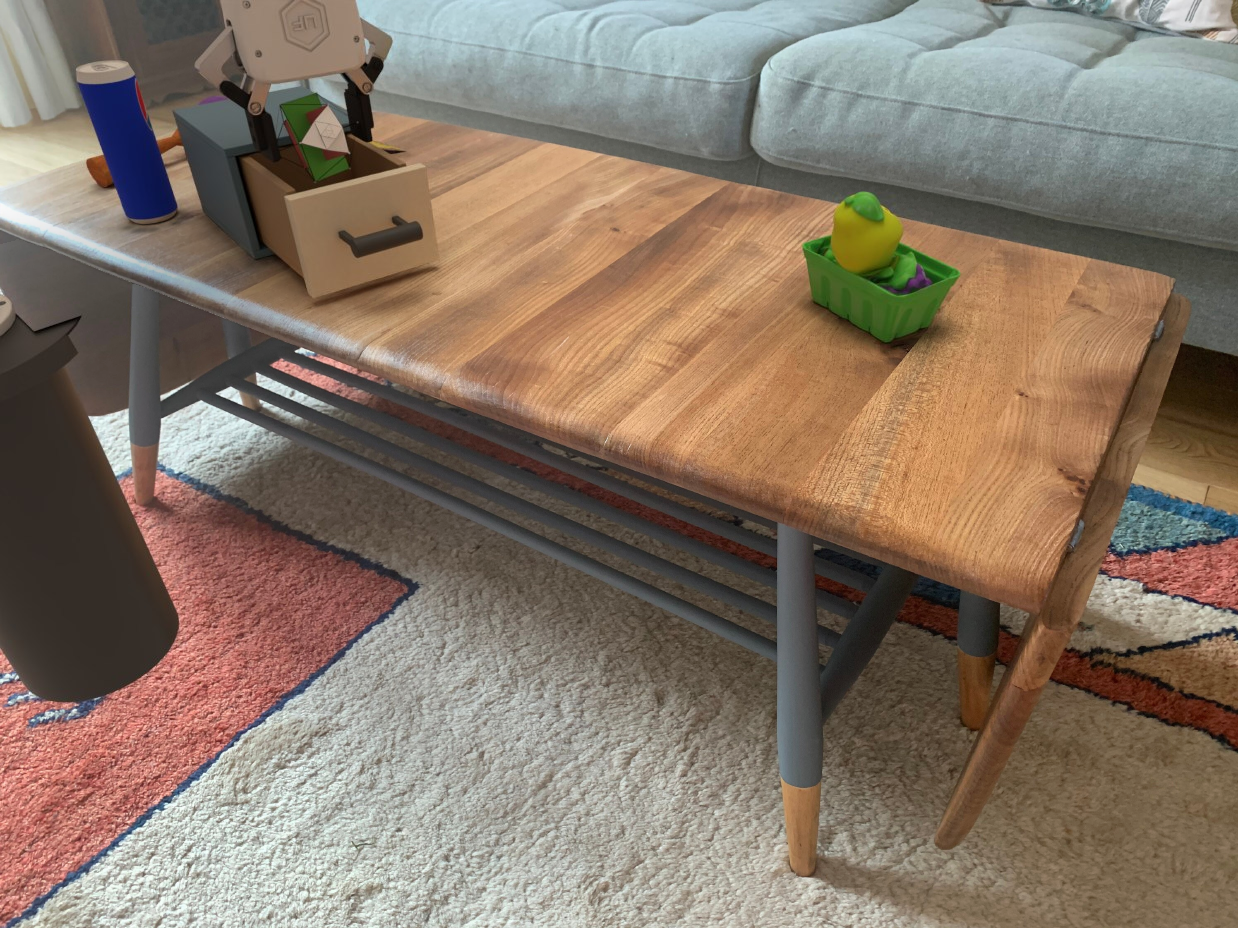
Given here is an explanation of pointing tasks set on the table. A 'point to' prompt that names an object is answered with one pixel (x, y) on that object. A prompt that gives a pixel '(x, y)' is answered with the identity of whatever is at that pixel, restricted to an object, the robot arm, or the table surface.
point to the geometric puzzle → (316, 136)
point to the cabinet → (232, 159)
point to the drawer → (342, 216)
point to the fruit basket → (875, 272)
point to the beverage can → (127, 140)
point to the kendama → (101, 170)
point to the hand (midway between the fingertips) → (317, 147)
